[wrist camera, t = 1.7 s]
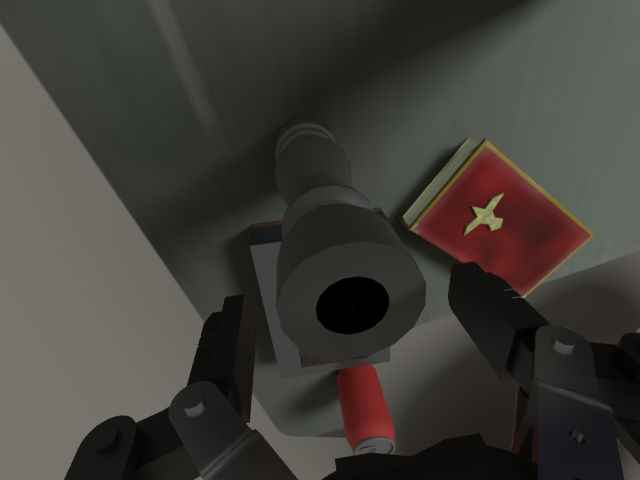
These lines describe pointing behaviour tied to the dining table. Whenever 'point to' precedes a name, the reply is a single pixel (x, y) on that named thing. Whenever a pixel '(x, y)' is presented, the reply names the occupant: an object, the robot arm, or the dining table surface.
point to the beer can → (365, 411)
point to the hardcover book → (495, 218)
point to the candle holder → (337, 254)
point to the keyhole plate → (286, 352)
